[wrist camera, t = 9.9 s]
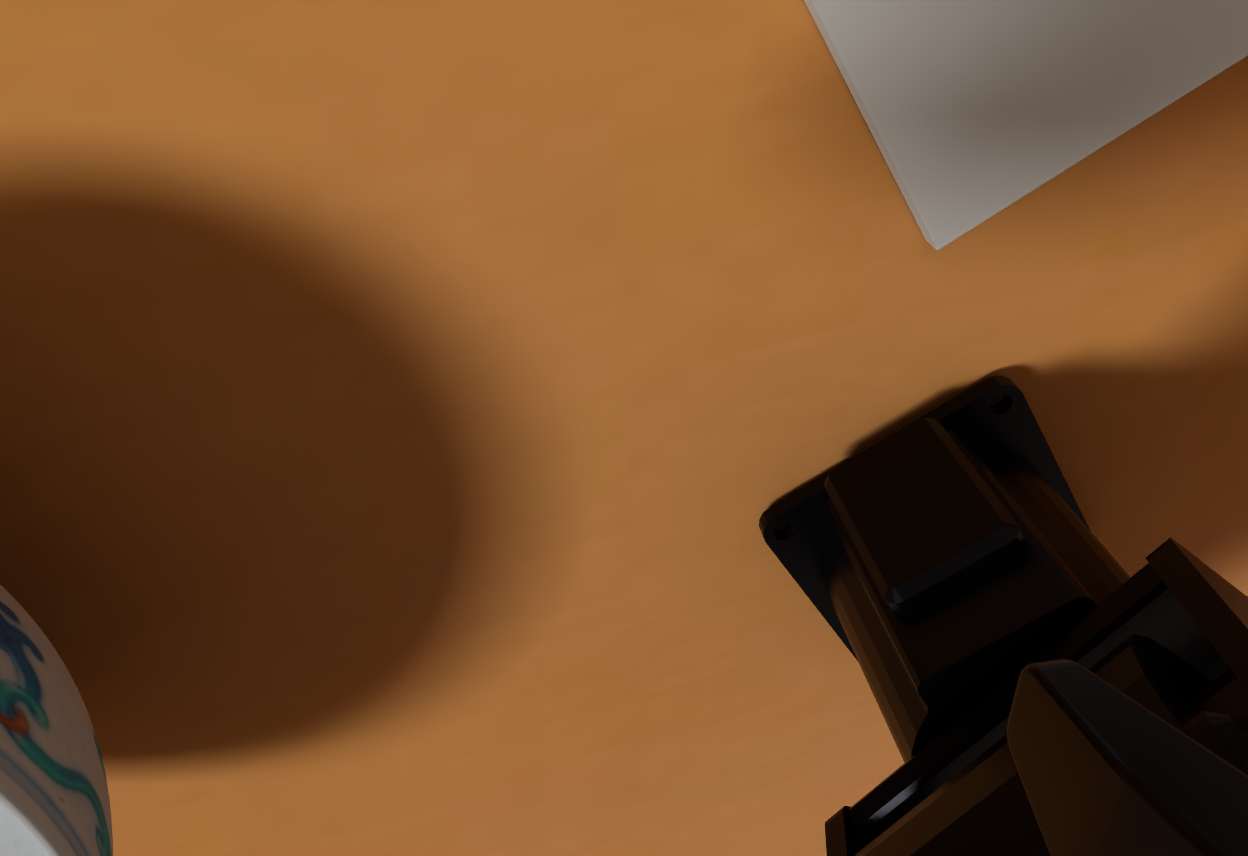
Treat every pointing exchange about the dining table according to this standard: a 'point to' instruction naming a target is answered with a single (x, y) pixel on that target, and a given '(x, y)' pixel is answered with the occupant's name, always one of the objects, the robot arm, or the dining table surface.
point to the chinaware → (46, 750)
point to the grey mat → (1014, 86)
